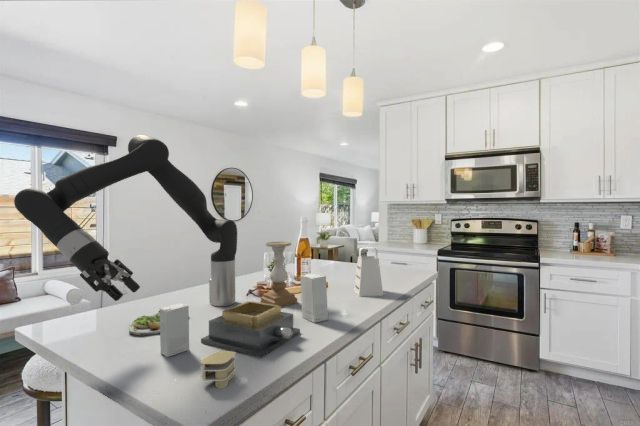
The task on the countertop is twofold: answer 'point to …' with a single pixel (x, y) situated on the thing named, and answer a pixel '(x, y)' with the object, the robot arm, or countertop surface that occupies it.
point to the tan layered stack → (218, 367)
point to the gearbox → (251, 329)
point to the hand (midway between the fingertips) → (129, 293)
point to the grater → (368, 275)
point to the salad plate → (146, 324)
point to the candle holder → (278, 278)
